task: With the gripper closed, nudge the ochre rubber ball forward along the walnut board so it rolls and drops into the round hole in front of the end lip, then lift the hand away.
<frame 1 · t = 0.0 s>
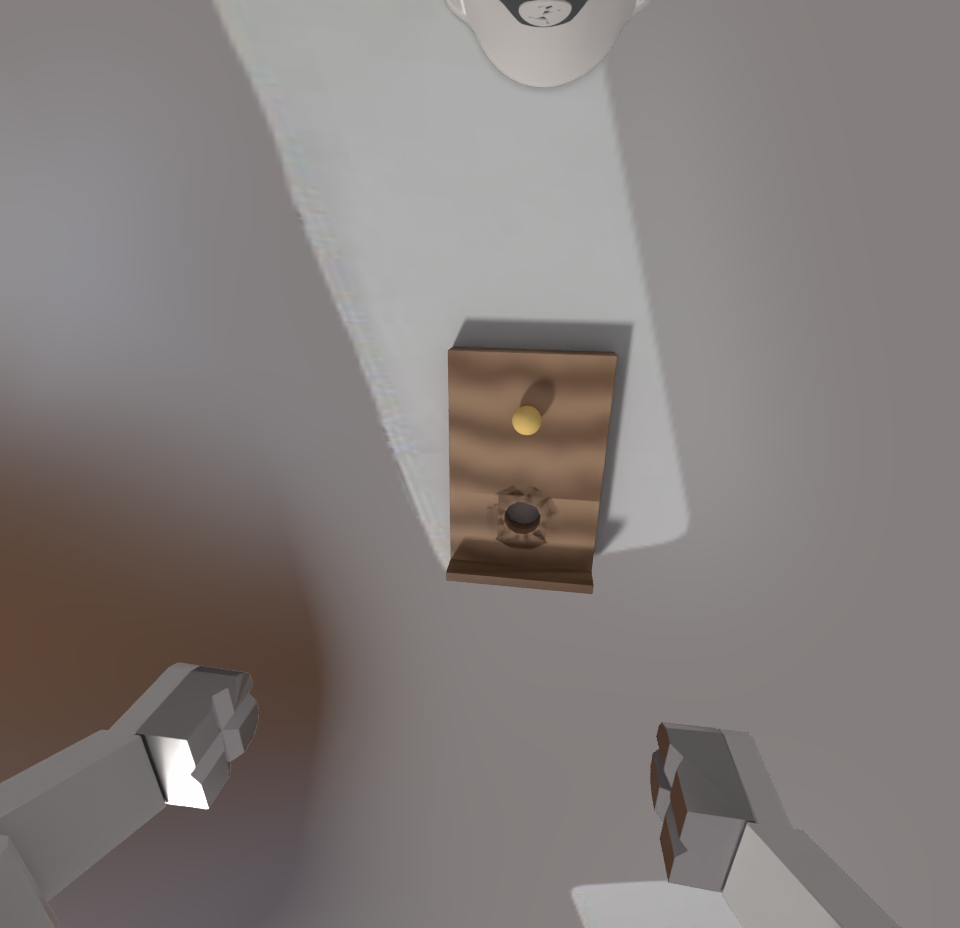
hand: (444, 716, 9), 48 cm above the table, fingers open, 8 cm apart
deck: (525, 465, 59), on the table
ball: (526, 420, 52), point 4 cm above the table, touching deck
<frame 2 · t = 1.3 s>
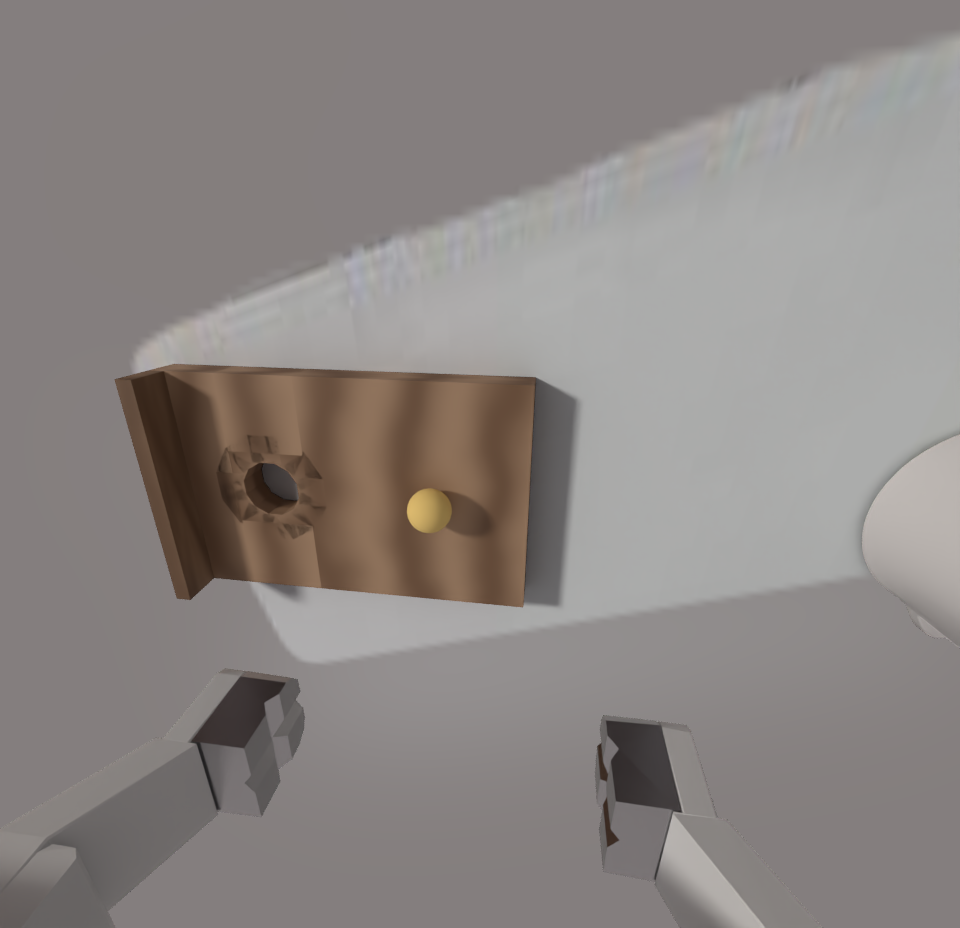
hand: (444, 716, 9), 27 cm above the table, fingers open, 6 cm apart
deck: (356, 481, 39), on the table
ball: (429, 510, 34), point 4 cm above the table, touching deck
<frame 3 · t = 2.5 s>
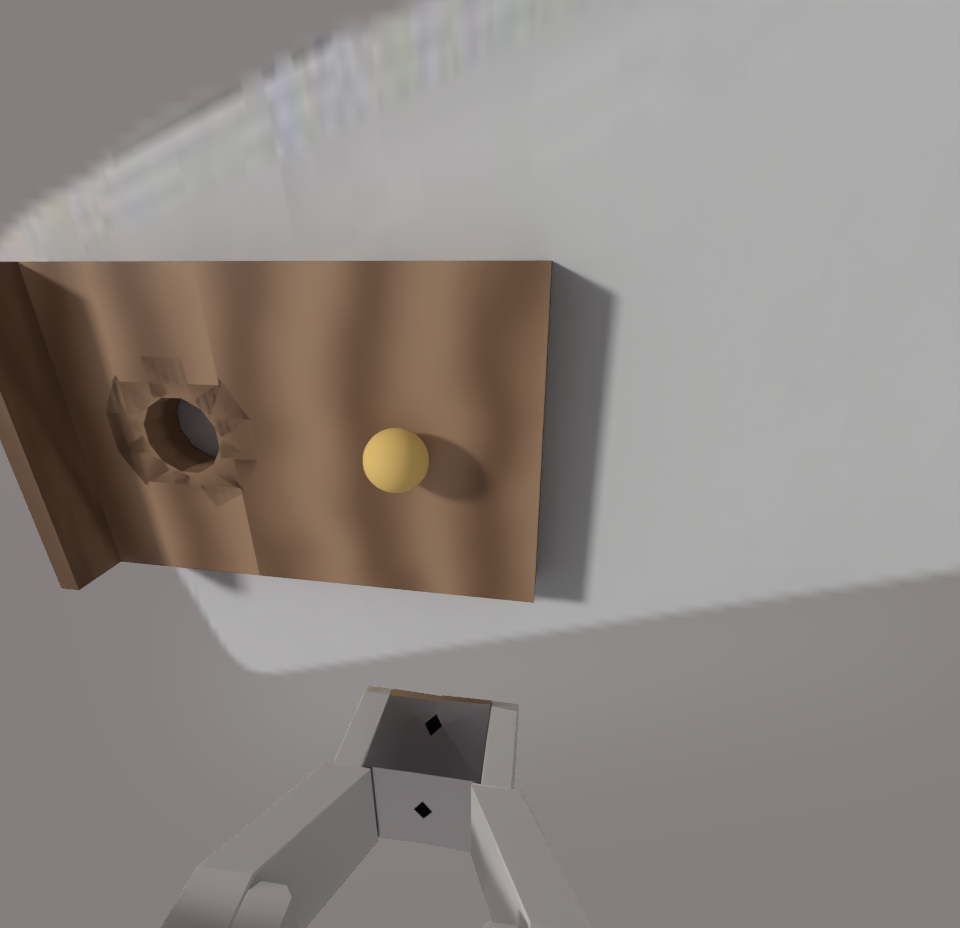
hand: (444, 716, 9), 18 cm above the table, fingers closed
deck: (303, 427, 28), on the table
ball: (396, 460, 24), point 4 cm above the table, touching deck
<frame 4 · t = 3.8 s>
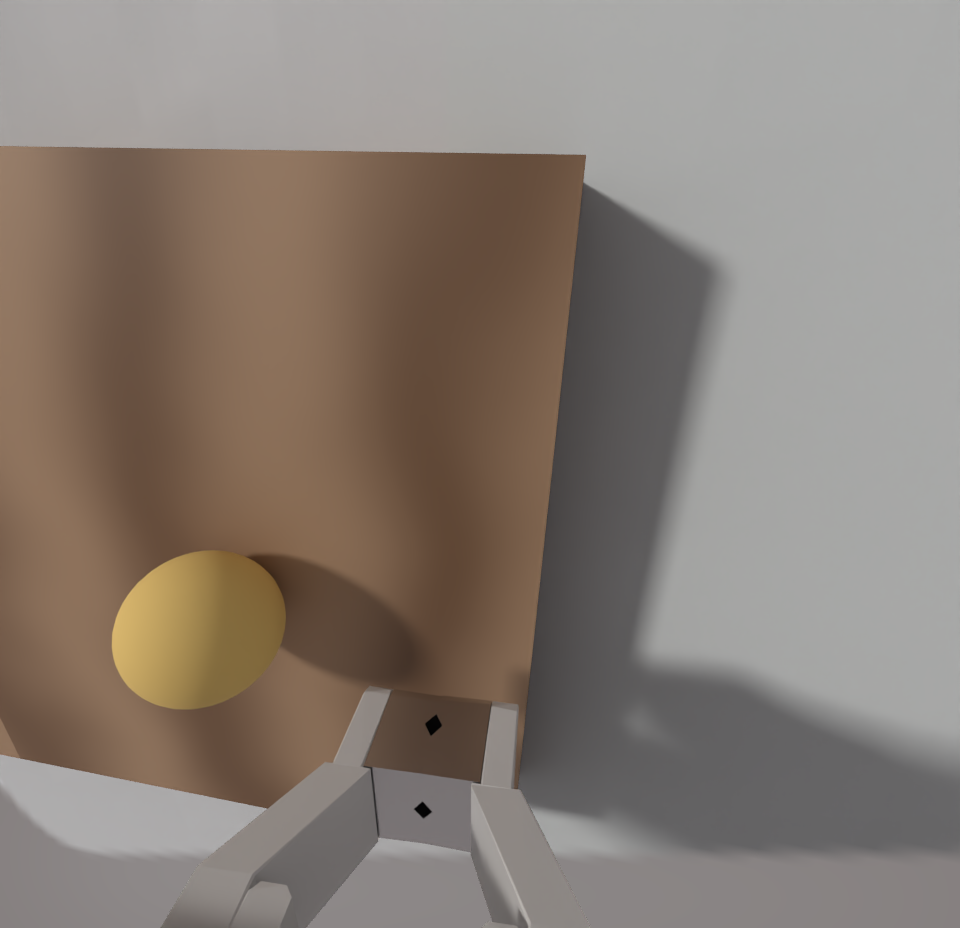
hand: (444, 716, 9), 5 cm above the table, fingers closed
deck: (88, 503, 15), on the table
ball: (205, 625, 10), point 4 cm above the table, touching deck
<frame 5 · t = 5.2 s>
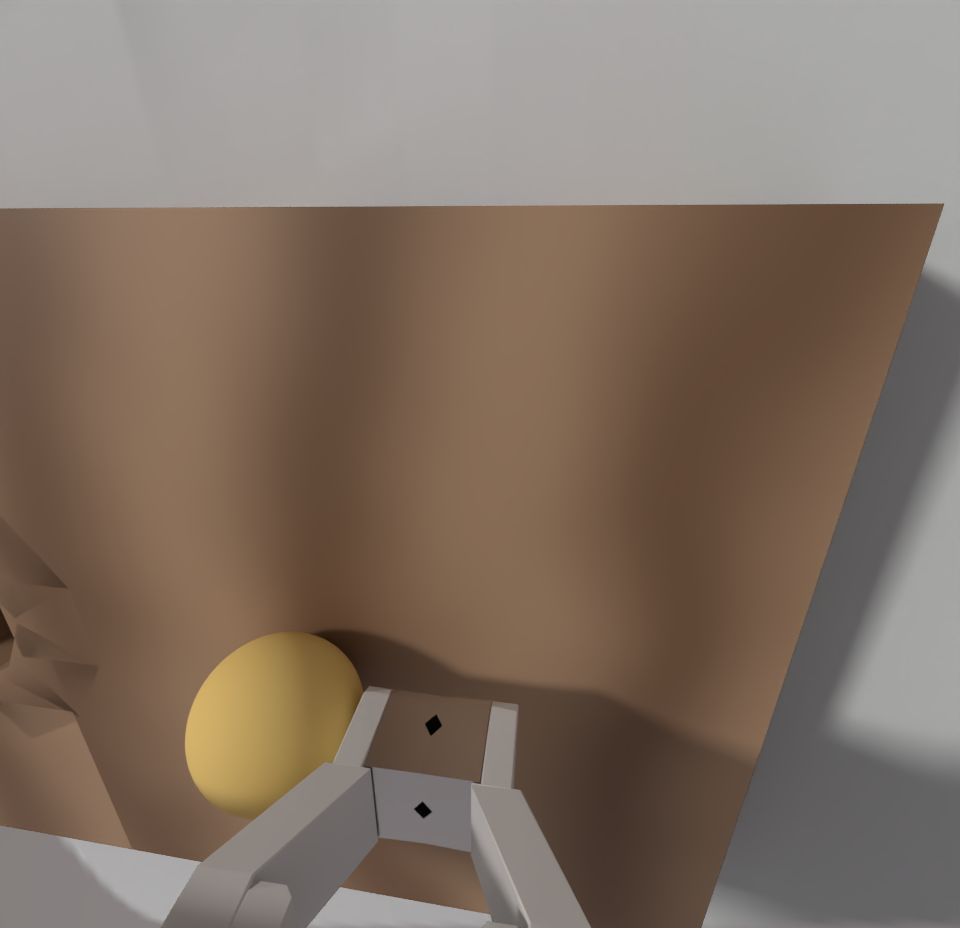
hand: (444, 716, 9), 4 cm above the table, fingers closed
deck: (212, 574, 14), on the table
ball: (280, 718, 9), point 4 cm above the table, tilted 95°, touching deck
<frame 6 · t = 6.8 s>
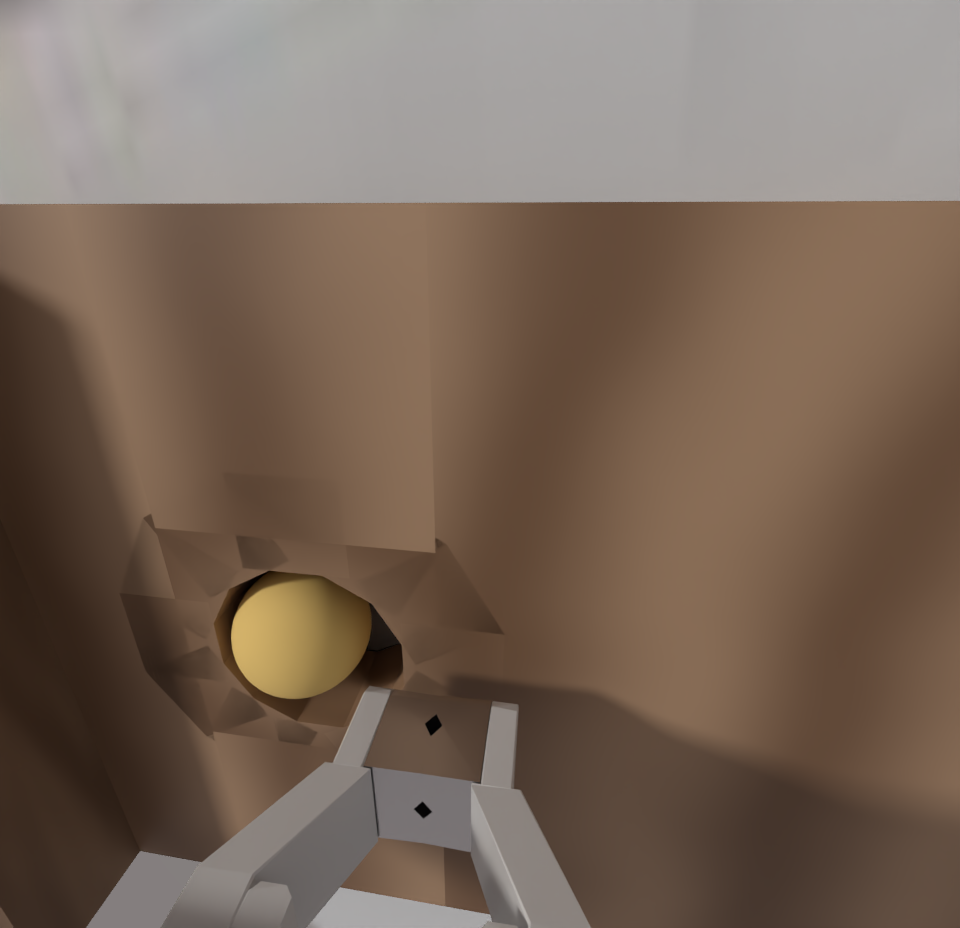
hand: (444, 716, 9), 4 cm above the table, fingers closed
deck: (573, 609, 12), on the table
ball: (304, 626, 12), point 2 cm above the table, tilted 164°
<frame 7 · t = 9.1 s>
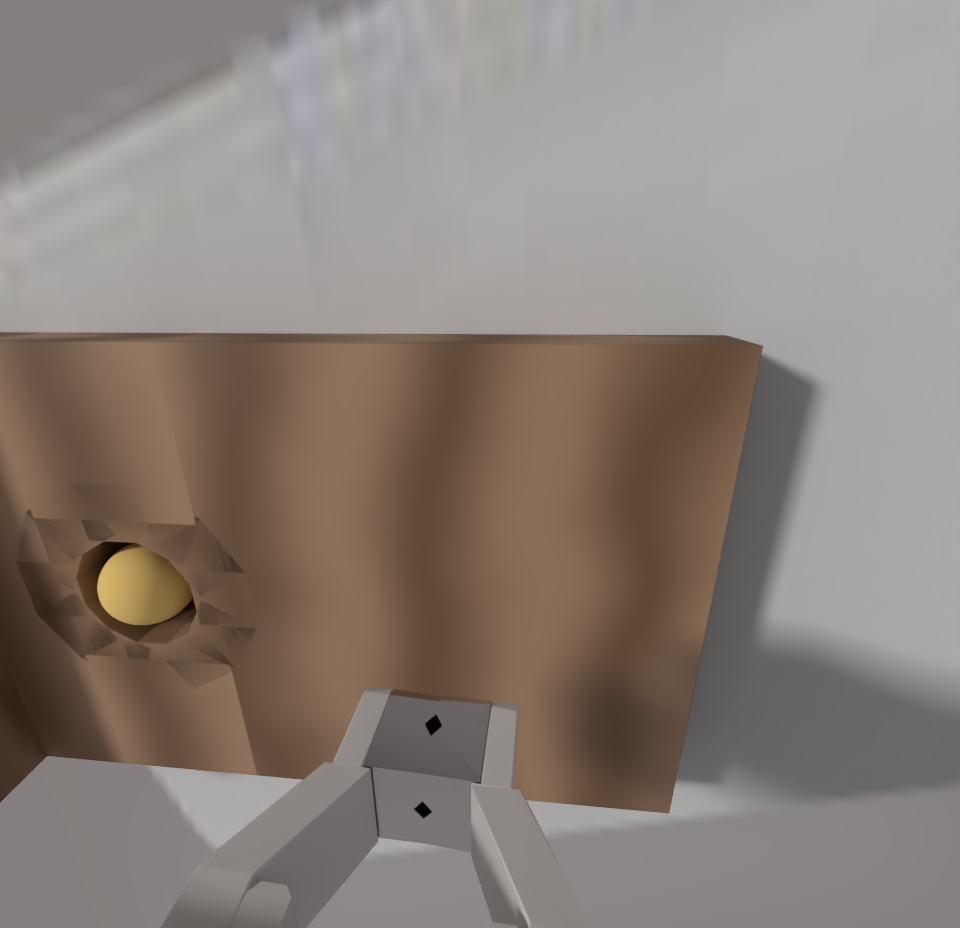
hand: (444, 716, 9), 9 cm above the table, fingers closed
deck: (322, 564, 19), on the table
ball: (150, 581, 18), point 2 cm above the table, tilted 150°
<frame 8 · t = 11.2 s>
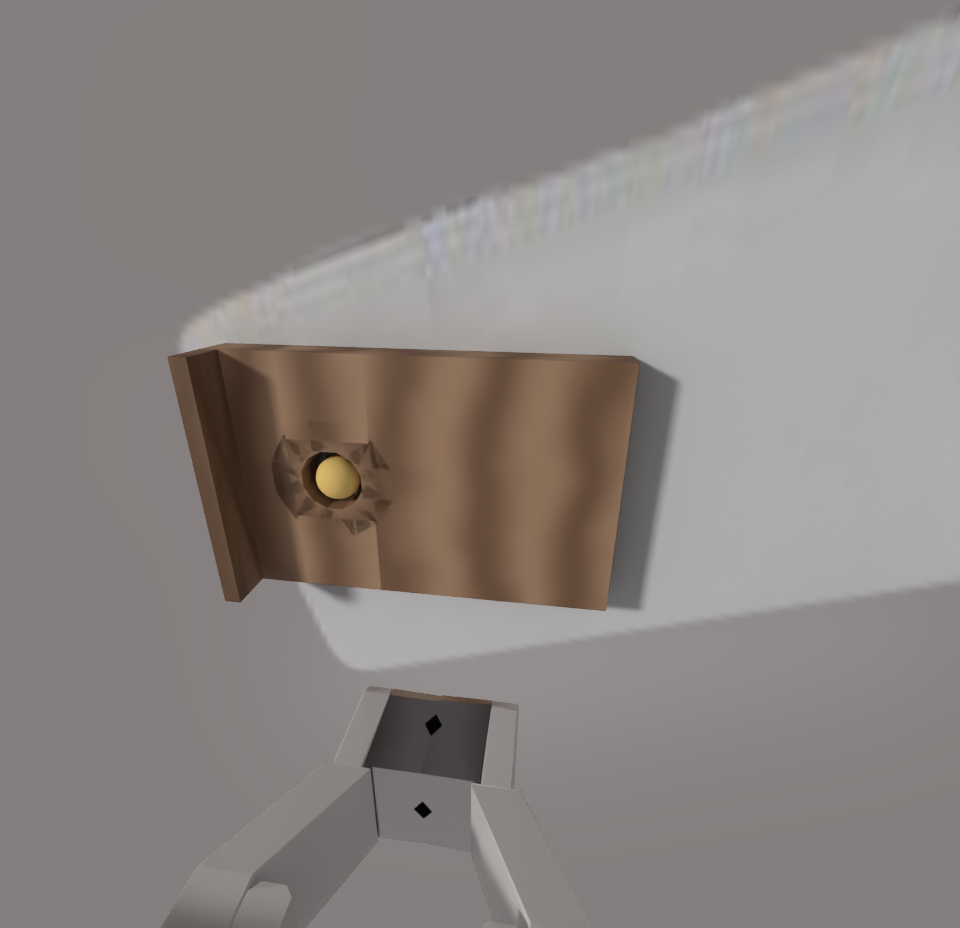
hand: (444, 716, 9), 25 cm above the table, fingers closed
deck: (422, 472, 36), on the table
ball: (339, 476, 35), point 2 cm above the table, tilted 137°
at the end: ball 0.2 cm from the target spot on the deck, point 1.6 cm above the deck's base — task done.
